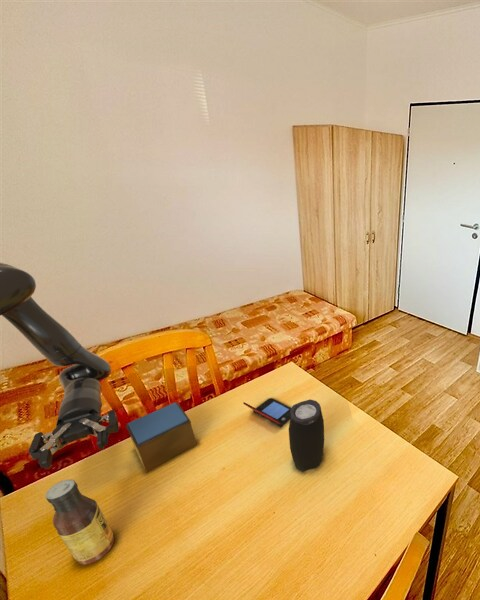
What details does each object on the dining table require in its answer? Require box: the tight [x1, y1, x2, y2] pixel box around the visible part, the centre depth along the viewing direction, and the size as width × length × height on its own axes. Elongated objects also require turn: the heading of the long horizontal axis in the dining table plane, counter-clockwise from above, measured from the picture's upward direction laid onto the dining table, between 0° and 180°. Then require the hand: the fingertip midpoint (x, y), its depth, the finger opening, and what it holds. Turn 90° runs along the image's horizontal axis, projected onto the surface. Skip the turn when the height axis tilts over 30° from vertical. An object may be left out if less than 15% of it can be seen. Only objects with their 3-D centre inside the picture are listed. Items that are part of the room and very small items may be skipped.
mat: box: [127, 402, 188, 445], centre depth 87 cm, size 11×9×1 cm
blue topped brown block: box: [125, 402, 197, 473], centre depth 89 cm, size 12×10×10 cm
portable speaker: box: [288, 398, 325, 473], centre depth 87 cm, size 9×9×20 cm
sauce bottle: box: [45, 478, 115, 566], centre depth 64 cm, size 7×6×20 cm
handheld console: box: [242, 397, 292, 428], centre depth 103 cm, size 12×11×7 cm
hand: (74, 455), depth 69 cm, fingers open, 8 cm apart
